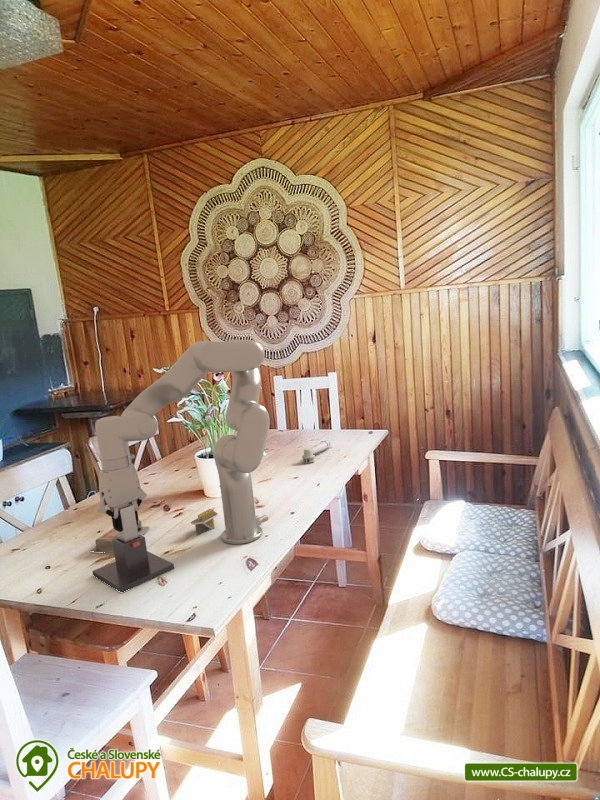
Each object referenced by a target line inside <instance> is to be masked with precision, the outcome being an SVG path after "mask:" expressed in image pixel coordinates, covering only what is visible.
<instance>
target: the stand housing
mask: <svg viewBox="0 0 600 800" xmlns="http://www.w3.org/2000/svg"><path fill="white" fill-rule="evenodd" d="M138 536H139V538H138V539H136V540H133V541H131V542H128V543H126V544H124V543H122V542H120V541H118V538H116V539H113V540H112V543H113V549H114V554H113V555H114V561H113V562H110V563H108V564H106V565H103V566H102V567H99V568H97V569H94V570H92V576H93V575H94V576H95V577H94V576H93V577H94V578H96V577H97V578H98V579H97V578H96V579H97V580H99V579H100V580H101V582H102V581H103V582H102V583H104V582H105V583H106V584H105V583H104V584H105V585H107V584H108V585H110V586H111V587H110V586H109V587H110V588H112V587H113V588H115V589H117V590H118V591H120V592H123V593H125V592H127V591H126V590H128V589H130V590H131V588H132V589H134V588H136V587H139V586H140V585H143V584H144V583H148V582H149V581H151V580H153V579H155V578H158V577H160V576H162V575H164V574H167V573H168V572H171V571H173V570H175V564H174V563H173V562H171V561H168V560H166V559H165V558H163V557H161V556H158V555H156V554H154V553H152V552H150V551H148V548H147V542H146V537H145V535H143V536H141V535H139V534H138ZM100 580H99V581H100ZM108 585H107V586H108ZM133 587H134V588H133ZM113 588H112V589H113ZM115 589H114V590H115ZM117 590H116V591H117ZM118 591H117V592H118ZM124 591H125V592H124ZM128 591H129V590H128ZM120 592H119V593H120Z"/></svg>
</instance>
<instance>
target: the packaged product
mask: <svg viewBox="0 0 600 800" xmlns="http://www.w3.org/2000/svg"><path fill="white" fill-rule="evenodd" d="M150 528H151V527H150V526H148V525H147V526H146V525H145V526H142V520H141V519H139V520H138V525H137V530H138V534H139V535H141V536H142V535H143V534H144V535H145V534H147V533H148V532H149V531H150V530H149V529H150ZM148 530H149V531H148ZM147 531H148V532H147ZM146 532H147V533H146ZM144 535H143V536H144ZM116 538H118V535H117V530H115V529H114V528H111V529H110V530H109V531H107V532H105V533H104V534H103V535H101V536H99V537H98V538H96V539H95V540H94V541H95V546H94V548H91V550H90V551H94V552H103V553H102V554H106V553H114V549H113V543H112V540H113V539H116ZM104 552H105V553H104Z"/></svg>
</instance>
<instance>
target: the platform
mask: <svg viewBox="0 0 600 800" xmlns="http://www.w3.org/2000/svg"><path fill="white" fill-rule="evenodd" d="M218 516H219V514H218V513H217V512H216V511H214V509H212V508H209V509H207V510H205V511H203V512H201V513H199V514H197V518H196V519H194V520H193V521H192V520H191V522H190V524H191V525H193V526H194V525H195V533H196V536H200V535H201V534H203V533H204V532H206V531H208V530H210V529H211V530H214V529H215V522H214V521H215V520H214V518H216V517H218Z"/></svg>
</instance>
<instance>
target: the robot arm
mask: <svg viewBox="0 0 600 800" xmlns="http://www.w3.org/2000/svg"><path fill="white" fill-rule="evenodd" d="M264 349H265V348H263V346H262V345H261V344H260V343H259V342H258V341H255V340H252V339H230V340H228V341H212V340H211V341H210V340H207V341H206V340H199V341H196V342H194V343H192V344H191V345H190V346H189V347H188V348H187V349H186V350H185V351H184V352H183V354H182V355H181V356H179V358H178V359H177V360H176V361H175V362H174V363H173V364H172V365H171V366H170V368H168V369H167V371H166V372H164V374H162V376H161V377H160V378H158V379H157V380H156V381H154V382H153V383H152V384H150V385H149V386H148V387H147V388H145V389H144V390H143V391H141V392H140V393H139V394H138V395H137V396H136V397H135V398H134V399H133V400H132V402H130V404H129V405H128V406H127V407H125V409H124V410H123V411H122V413H121V414H120V415H112V416H111V415H110V416H105V417H102V418H98V419H97V420H96V421H95V423H94V424H95V426H94V427H95V428H94V429H95V433H96V439H97V445H98V451H99V453H98V454H99V457H100V463H101V470H99V472H98V493H99V503H98V507H97V512H98V513H101V514H105V515H107V516H109V517H110V518H111V522H112V527H113V528H114V529H115V530H117V531H119V532H121V531H122V524H121V518H120V517H119V516H118V506H121V505H124V504H127V503H130V504H132V505H134V510H135V517H136V523H137V525H138V520H140V519H139V514H138V511H139V509H140V506H141V504H142V502H143V501H144V500H145V498H146V497H147V495H148V494H147V493H146V491H144V489H142V487H141V482H140V480H139V479H140V478H139V475H138V472H137V470H136V466H135V464H133V463H132V460H133V459H135V458H136V457H135V454H134V453H131V452H130V446H129V442H141V441H147V440H149V439H151V438H153V437H154V436H155V435H156V434H157V432H158V428H159V424H158V421H157V419H156V417H154V416H155V415H156V414H157V413H158V412H160V411H161V410H162V409H163V408H165V407H167V406H168V405H170V404H172V403H175V402H179V401H180V400H182V399H184V398H186V397H188V395H190V393H191V391H192V390H193V389H195V387H196V386H197V385H198V384H199V382H201V380H202V379H204V377H205V376H206V375H207V374H208V373H231V376H232V384H231V391H230V395H229V398H228V402H227V409H226V412H225V417H224V419H225V423H226V426H228V427H229V428H230V429H231V430H233V431H234V432H237V433H236V435H234V434H225V435H223V436H221V437H220V438H218V439H217V441H216V442H215V444H214V446H213V457H214V458H213V459H214V462H215V467H216V469H217V474H218V479H219V487H220V495H221V504H222V510H223V519H224V527H225V529H224V530H223V531H222V533H221V536H220V537H221V540H222V541H223V542H224V543H226V544H231V545H243V544H247V543H251V542H254V541H256V540H259V538H260V537H261V536H262V535H263V528H262V527H261V526H260V525H262V524H264V523H265V522H267V521H269V516H268V515H267V514H263V515H262V516H259V515H256V509H255V500H254V499H255V497H254V491H253V483H252V482H253V481H252V480H253V479H252V474H251V473H252V472H254V471H256V470H257V468H258V467H259V465H260V464H261V461H262V459H263V456H264V452H265V448H266V445H267V444H266V443H267V440H268V435H269V432H270V431H269V430H270V426H271V420H270V413H269V412H268V410H267V408H266V407H265V406H264V405H262V404H260V403H259V398H260V394H261V387H262V378H261V377H262V376H261V374H260V373H261V372H260V370H259V367H260V366H262V364H263V363H264V360H265V354H266V353H265V350H264ZM106 506H107V507H108V508H109V509H108V508H106ZM113 528H112V529H113Z"/></svg>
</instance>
